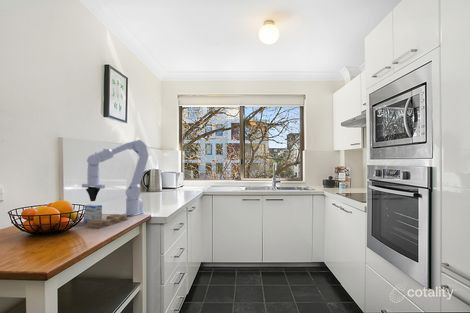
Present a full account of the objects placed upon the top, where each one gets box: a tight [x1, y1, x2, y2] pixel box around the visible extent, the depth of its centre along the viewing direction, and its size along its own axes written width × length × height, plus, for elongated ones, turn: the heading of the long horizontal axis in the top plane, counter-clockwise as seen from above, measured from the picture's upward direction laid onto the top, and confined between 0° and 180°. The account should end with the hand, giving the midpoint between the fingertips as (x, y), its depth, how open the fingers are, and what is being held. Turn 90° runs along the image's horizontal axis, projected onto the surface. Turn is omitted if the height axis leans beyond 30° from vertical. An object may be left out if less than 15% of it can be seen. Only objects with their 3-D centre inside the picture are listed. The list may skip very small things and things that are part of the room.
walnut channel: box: [86, 213, 128, 229], centre depth 139 cm, size 18×8×2 cm, turn 161°
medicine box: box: [83, 203, 103, 223], centre depth 142 cm, size 8×4×9 cm, turn 73°
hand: (92, 201), depth 150 cm, fingers closed
